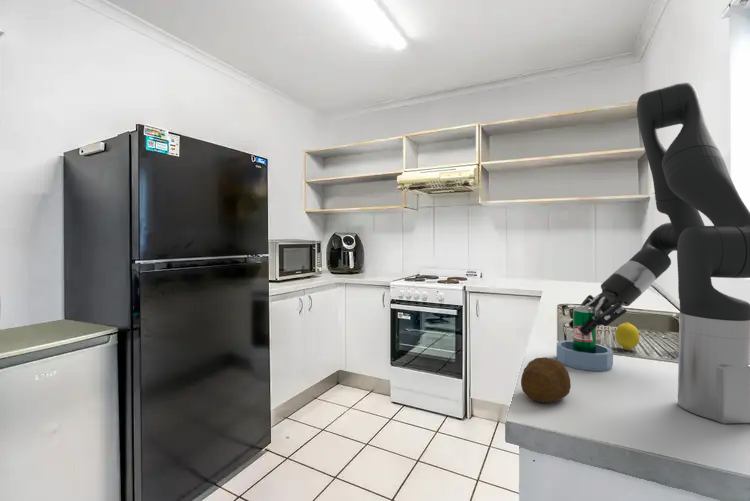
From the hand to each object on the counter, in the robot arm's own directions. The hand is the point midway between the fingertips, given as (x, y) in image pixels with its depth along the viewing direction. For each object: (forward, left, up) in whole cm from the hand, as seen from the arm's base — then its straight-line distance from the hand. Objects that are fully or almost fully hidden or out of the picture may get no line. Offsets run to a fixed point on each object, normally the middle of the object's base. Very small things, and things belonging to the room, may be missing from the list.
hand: (576, 329), depth 88 cm
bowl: (0, -2, -8) cm, 9 cm away
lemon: (+10, -22, -9) cm, 25 cm away
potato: (-19, +19, -9) cm, 29 cm away
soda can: (0, -2, -6) cm, 7 cm away
